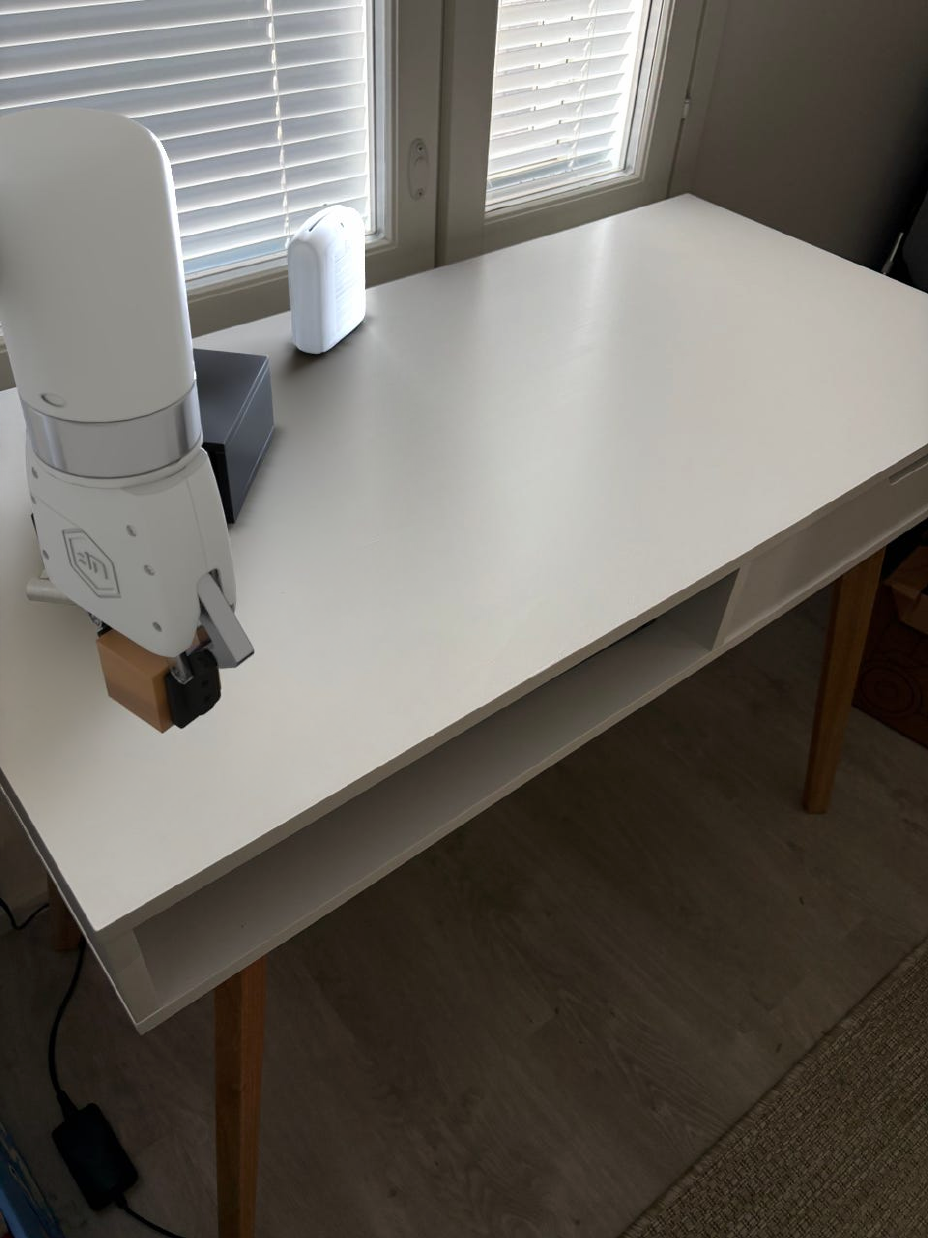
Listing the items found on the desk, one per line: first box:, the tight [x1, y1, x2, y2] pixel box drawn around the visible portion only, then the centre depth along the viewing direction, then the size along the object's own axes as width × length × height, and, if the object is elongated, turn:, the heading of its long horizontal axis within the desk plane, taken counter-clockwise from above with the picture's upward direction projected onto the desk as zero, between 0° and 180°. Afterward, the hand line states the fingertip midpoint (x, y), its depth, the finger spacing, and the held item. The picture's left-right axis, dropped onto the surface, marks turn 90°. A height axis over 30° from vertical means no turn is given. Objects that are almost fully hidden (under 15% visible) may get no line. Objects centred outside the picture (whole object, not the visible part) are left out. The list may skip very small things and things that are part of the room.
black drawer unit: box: [193, 347, 276, 525], centre depth 83 cm, size 14×12×8 cm
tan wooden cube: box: [95, 628, 222, 735], centre depth 57 cm, size 4×4×4 cm
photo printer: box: [286, 205, 366, 355], centre depth 100 cm, size 10×4×12 cm, turn 157°
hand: (164, 688), depth 58 cm, fingers closed on tan wooden cube, 4 cm apart
